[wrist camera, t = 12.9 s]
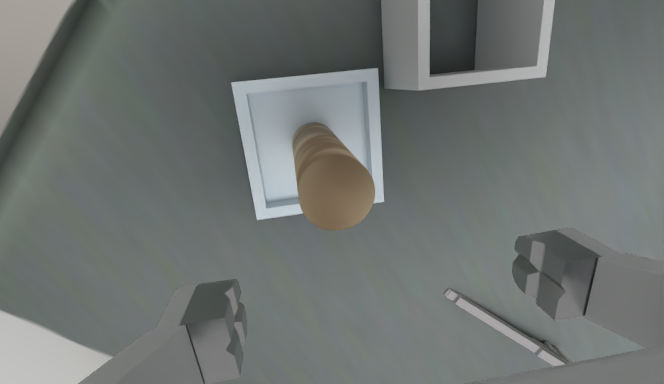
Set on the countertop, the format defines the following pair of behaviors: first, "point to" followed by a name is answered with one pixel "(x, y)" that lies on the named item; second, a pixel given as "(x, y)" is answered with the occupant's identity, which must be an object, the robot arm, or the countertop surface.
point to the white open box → (491, 44)
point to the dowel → (330, 179)
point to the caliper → (510, 330)
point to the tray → (295, 111)
